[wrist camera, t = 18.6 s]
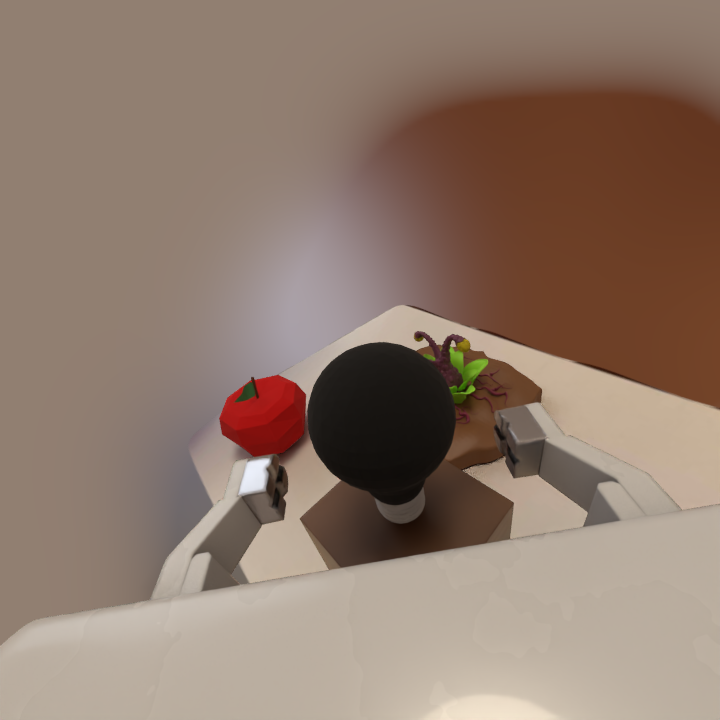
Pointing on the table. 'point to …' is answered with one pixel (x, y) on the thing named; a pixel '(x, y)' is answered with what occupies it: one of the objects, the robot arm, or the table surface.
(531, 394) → the plant
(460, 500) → the walnut block
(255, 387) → the apple
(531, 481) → the table surface
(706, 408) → the table surface
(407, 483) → the light bulb
